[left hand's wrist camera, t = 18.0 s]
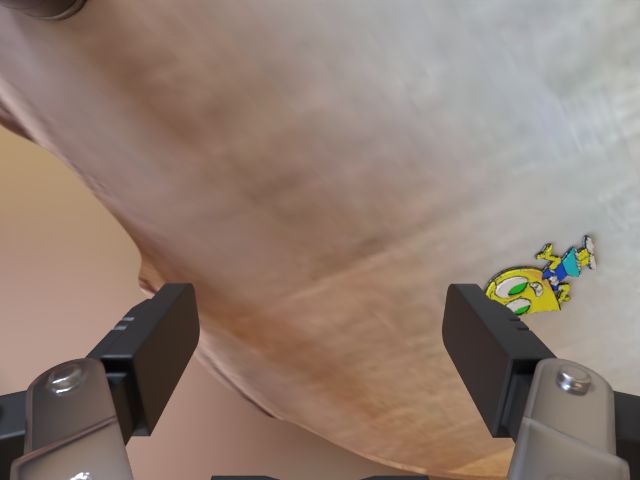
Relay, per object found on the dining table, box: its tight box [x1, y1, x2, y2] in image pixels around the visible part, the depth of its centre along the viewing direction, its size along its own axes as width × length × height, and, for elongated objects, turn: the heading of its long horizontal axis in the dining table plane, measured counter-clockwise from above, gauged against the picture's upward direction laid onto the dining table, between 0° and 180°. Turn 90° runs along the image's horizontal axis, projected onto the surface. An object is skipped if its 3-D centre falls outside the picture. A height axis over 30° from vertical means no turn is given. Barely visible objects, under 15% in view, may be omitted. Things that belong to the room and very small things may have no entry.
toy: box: [484, 235, 596, 317], centre depth 44 cm, size 10×1×15 cm
